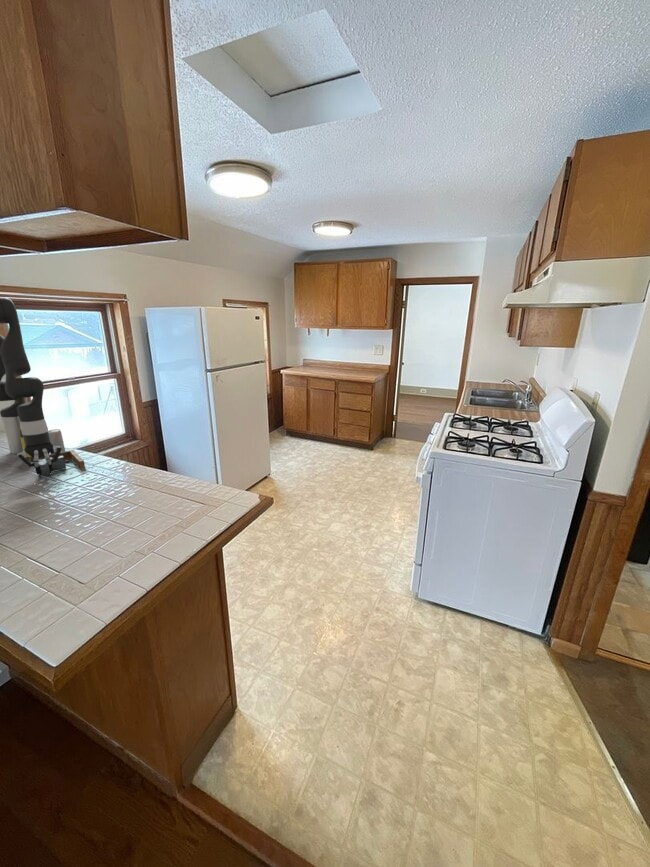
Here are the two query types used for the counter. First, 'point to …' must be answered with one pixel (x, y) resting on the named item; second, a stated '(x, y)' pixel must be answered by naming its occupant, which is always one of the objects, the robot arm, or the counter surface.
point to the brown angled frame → (71, 458)
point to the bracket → (56, 466)
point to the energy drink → (56, 439)
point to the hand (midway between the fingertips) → (45, 473)
